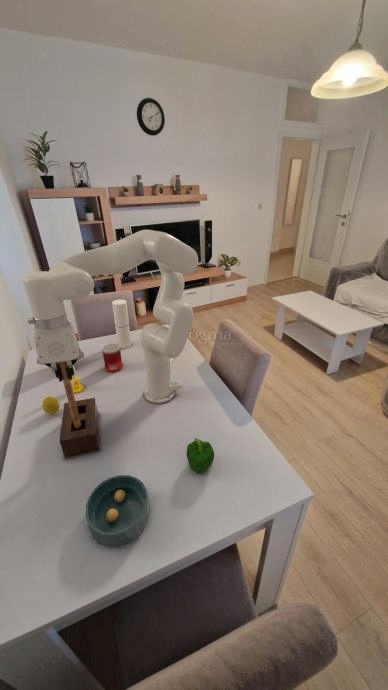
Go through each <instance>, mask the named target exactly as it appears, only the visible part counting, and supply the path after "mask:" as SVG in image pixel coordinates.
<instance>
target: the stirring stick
mask: <svg viewBox="0 0 388 690" xmlns="http://www.w3.org/2000/svg"><path fill="white" fill-rule="evenodd" d="M58 363H59V367H60V371H61V375H62V382H63V387H64V390H65V394H66V399H67V403H69V407H70V411H71V415H72V419H73V423H74V427H75V428H79V427H81V422H80V418H79V414H78V410H77V405H76V401H77V400H76V397H75V393H73V388H72V387H73V386H72V385H73V383H72V382H71V380H69V377H68V373H67V363H66V361H62V362H58Z"/></svg>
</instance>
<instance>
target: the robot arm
mask: <svg viewBox="0 0 388 690" xmlns="http://www.w3.org/2000/svg"><path fill="white" fill-rule="evenodd" d="M148 261H154V262H155V263H156V265H157V267H158V269H159V271H160V272H159V273H160V275H161V282H160V285H159V289H158V292H157V296H156V299H155V301H154V305H153V309H152V316H153V317H154V318H155V319H156V320H157V321H159V322H161V323H164V324H166V325H168V326H169V328H168V327H167V326H165V325H162V324H160V323H155V322H154V323H153V322H151V323H147V324H146V325H145V326H143V328H142V329H141V332H140V342H141V346H142V349H143V353H144V361H145V372H146V385H147V386H146V388H145V389H144V392H143V393H144V398H145V400H147V401H148V402H150V403H153V404H163V403H166V402H169V401H170V400H172V399H173V397H174V396H175V391H176V390H179V389H182V388H183V384H182V383H178V381H171V359H176V358H178V357H179V356H180V355H181V354H182V352H183V350H184V348H185V346H186V343H187V340H188V337H189V335H190V331H191V328H192V326H193V322H194V317H195V315H194V309H193V307H192V306H191V305H190V304H189V303H188V302H185V301H182V297H183V293H184V290H185V277H184V275H190V274H193V273H194V272H195V271H196V270H197V268H198V266H199V256H198V253H197V251H196V250H195V249H194V248H192V247H191V246H190V245H188V244H186V243H184V242H183V241H181V240H180V239H178V238H176V237H175V236H173V235H171V234H169V233H167V232H164V231H158V230H153V229H142V230H138V231H137V232H134V233H133V234H130V235H128V236H126V237H124V238H121V239H120V240H117V241H115V242H113V243H111V244H108V245H104V246H100V247H96V248H93V249H90V250H89V249H88V250H85V251H81V252H77V253H74V254H73V255H70V256H68V257H66V258H63V259H62V260H61V259H60V260H59V261H57V262H56V263H54V264H53V265H52V266H51V267H50V268H49V270H48V271H47V270H44V271H43V270H42V271H41V270H39V271H34V272H33V271H32V272H29V273H27V274H26V275H24V276H23V280H22V282H23V287H24V290H25V293H26V297H27V301H28V305H29V307H30V309H31V314H32V317H31V318H27V323H28V324H29V325H31V324H32V325H34V327H33V328H32V332H33V342H34V346H35V347H34V348H35V352H36V356H37V359H36V364H38V365H42V366H46V367H48V368H50V369H51V370H52V371H53V370H54V371H55V372H54V371H53V372H54V374H55V379H58V381H59V382H60V383H61V382H63V379H62V375H61V371H60V367H59V364H58V362H62V361H67V373H68V377H69V380H72V376H73V375H74V369H73V365H74V366H75V364H76V363H77V362H78V361H80V360H82V359H83V358H85V353H84V351H83V350H82V349H81V348H80V346H79V342H78V339H77V335H76V331H75V329H74V327H73V324H72V323H71V322H70V321H69V320H68V318H67V313H66V308H65V303H64V301H69V300H79V299H84V298H87V297H88V296H89V295H91V294H92V292H93V291H94V288H95V281H94V279H93V277H96V276H102V275H103V276H104V275H110V276H111V275H122V274H125V273H127V272H129V271H130V270H132V269H134V268H136V267H138V266H139V265H142V264H144V263H145V262H148Z"/></svg>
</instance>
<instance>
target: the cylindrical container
mask: <svg viewBox="0 0 388 690" xmlns="http://www.w3.org/2000/svg"><path fill="white" fill-rule="evenodd" d="M111 305H112V313H113V320H114V326H115V333H116V335H115V336H116V341H117V345H119V346H120V349H129V348H130V347H131V346H132V338H131V329H130V320H129V319H130V318H129V311H128V310H129V309H128V303H127V300H126V299H115V300H113V301H112V302H111Z"/></svg>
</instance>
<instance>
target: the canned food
mask: <svg viewBox="0 0 388 690" xmlns="http://www.w3.org/2000/svg"><path fill="white" fill-rule="evenodd" d="M101 351H102V358H103V361H104V362H103V363H104V368H105V371H107V372H109V373H115V372H119V371H120V370H122V369H123V361H122V352H121V348H120V346H119V345H118V343H117V344H116V343H110V344H106V345H104V346H103V347H102V349H101Z"/></svg>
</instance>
